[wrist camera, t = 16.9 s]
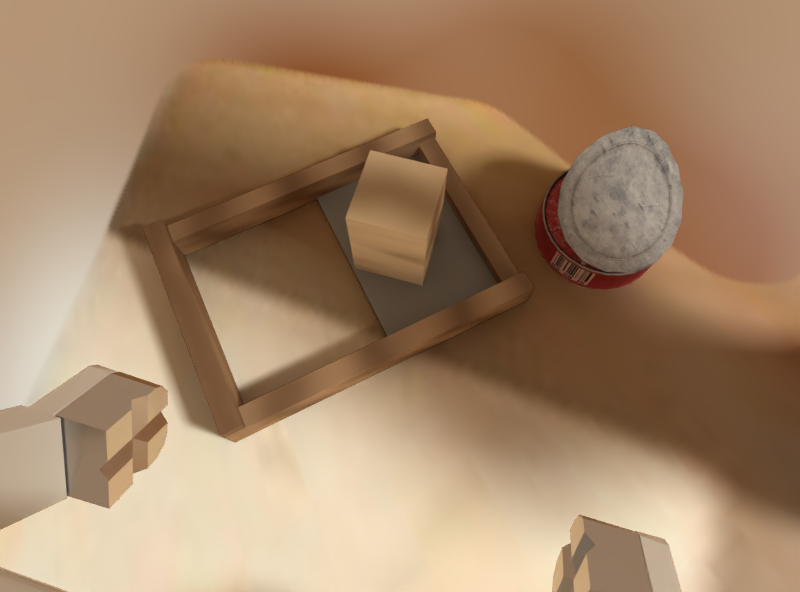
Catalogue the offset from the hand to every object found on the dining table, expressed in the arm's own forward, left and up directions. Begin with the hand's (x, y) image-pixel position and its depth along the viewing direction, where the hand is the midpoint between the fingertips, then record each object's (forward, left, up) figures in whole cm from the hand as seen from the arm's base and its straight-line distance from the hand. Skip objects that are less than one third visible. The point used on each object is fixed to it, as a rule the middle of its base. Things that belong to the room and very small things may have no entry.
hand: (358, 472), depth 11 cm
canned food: (-24, -11, -30) cm, 40 cm away
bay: (-4, -17, -30) cm, 34 cm away
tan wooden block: (-9, -17, -29) cm, 35 cm away
